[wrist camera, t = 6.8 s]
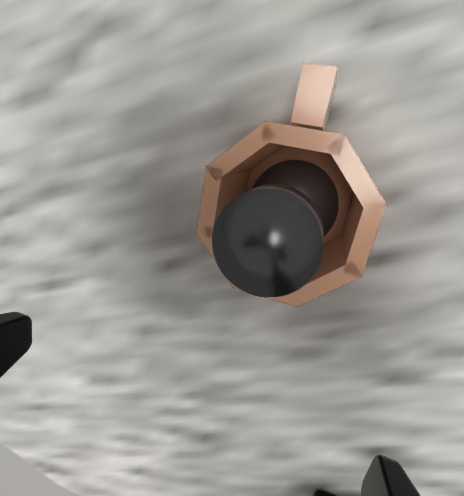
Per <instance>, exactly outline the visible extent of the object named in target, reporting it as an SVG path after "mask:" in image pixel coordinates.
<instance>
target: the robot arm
mask: <svg viewBox="0 0 464 496" xmlns="http://www.w3.org/2000/svg"><path fill="white" fill-rule="evenodd" d="M31 344H32V321H31V318H30V317H29V316H27V315H24V314H22V313H19V312H10V313H4V314H0V378H1V377H2V376H3V375H4V374H5V373H6V372H7V371H8V370H9V369H10V368H11V367H12V366H13V365H14V364H15V363H16V362H17V361H18V360H19V359H20V358H21V357H22V356H23V355H24V354H25V353H26V352H27V351H28V349H29V348H30V346H31ZM314 496H330V495H328V494H325V493H323V492H317V493H315V495H314ZM361 496H420V494H419V493H418V491H417V490H416V488H415V487H414V485H413V484H412V482H411V480H410V479H409V477H408V476H407V474H406V473H405V471H404V470H403V468H402V467H401V465H400V464H399V463H398V462H397V461H395V460H393V459H390V458H388V457H385V456H383V455H376V456H375V457H374V459H373V461H372V463H371V465H370V467H369V469H368V471H367V473H366V475H365V478H364V480H363V483H362V489H361Z"/></svg>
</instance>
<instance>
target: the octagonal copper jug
mask: <svg viewBox="0 0 464 496" xmlns="http://www.w3.org/2000/svg"><path fill="white" fill-rule="evenodd" d="M337 68H338V67H337V66H329V65H322V64H314V63H306V62H303V66H302V71H301V75H300V80H299V84H298V89H297V93H296V98H295V103H294V107H293V112H292V116H291V121H290V122H291V123H292V124H294V125H295V126H291V125H285V124H279V123H273V122H267V121H265V122H263V123H262V124H261V125H260V126H258V127H257V128H256V129H254V130H253V131H252V132H250V133H249V134H248V135H246V136H245V137H244V138H243V139H241V140H240V141H239V142H237V143H236V144H235V145H233V146H232V147H231V148H229V149H228V150H227V151H226V152H224V153H223V154H222V155H220V156H219V157H218V158H216V159H215V160H214V161H213V162H211V163H210V164H209V165H207V166H206V171H205V178H204V185H203V192H202V199H201V206H200V213H199V220H198V227H197V235H198V236H199V238H200V239H201V241H202V242H203V244H204V245H205V247H206V248H207V250H208V251H209V253H210V254H211V256H212V257H213V259H214V260H215V257H214V254H213V249H212V232H213V228H214V224H215V222H216V219H217V217H218V215H219V214H220V212H221V211H222V209H223V208H224V207H225V206H226V205H227V204H228V203H229V202H230V201H231V200H233V199H234V198H236V197H237V196H239V195H241V194H243V193H245V192H247V191H249V190H251V189H252V188H253V186H254V184H255V182H256V180H257V179H258V178H259V176H260V175H261V174H262V173H263V172H264V171H266V170H267V169H268V168H270V167H271V166H273V165H275V164H277V163H280V162H283V161H289V160H302V161H307V162H310V163H313V164H315V165H317V166H318V167H320V168H321V169H323V170H324V171H325V172H326V173H327V174H328V175H329V176H330V178H331V179H332V181H333V182H334V184H335V187H336V189H337V193H338V198H339V209H338V214H337V218H336V221H335V223H334V225H333V227H332V228H331V229H330V231H329V232H328V233H327V234H326V235H325V236H324V238H323V252H322V258H321V262H320V264H319V267H318V269H317V271H316V273H315V274H314V276H313V277H312V278H311V280H310V281H309V282H308V283H307V284H306V285H304V286H303V287H302V288H300V289H299V290H297V291H295V292H293V293H291V294H288V295H285V296H281V297H265V298H269V299H272V300H275V301H279V302H282V303H286V304H289V305H292V306H296V307H298V306H300V305H302V304H304V303H307V302H309V301H311V300H313V299H315V298H317V297H319V296H322V295H324V294H326V293H328V292H330V291H332V290H334V289H337V288H339V287H341V286H343V285H345V284H347V283H349V282H351V281H354V280H356V279H358V278H360V277H362V275H363V272H364V269H365V266H366V263H367V260H368V257H369V254H370V251H371V248H372V246H373V243H374V240H375V237H376V234H377V231H378V228H379V225H380V222H381V219H382V216H383V213H384V211H385V208H386V205H387V203H385V201H384V199H383V198H382V196H381V194H380V193H379V191H378V189H377V188H376V186H375V184H374V183H373V181H372V179H371V178H370V176H369V174H368V173H367V171H366V169H365V168H364V166H363V164H362V163H361V161H360V159H359V158H358V156H357V154H356V153H355V151H354V149H353V148H352V146H351V144H350V143H349V141H348V139H347V138H346V136H345V134H338V133H332V132H326V131H325V128H326V124H327V120H328V116H329V112H330V108H331V104H332V100H333V96H334V92H335V88H336V79H337ZM215 262H216V260H215ZM216 263H217V262H216ZM227 280H228V279H227ZM228 281H229V280H228ZM229 283H230V284H231V286H232V288H235V289H238V290H241V289H239V288H238V287H236V286H235V285H234V284H232V283H231V282H230V281H229ZM241 291H243V290H241Z"/></svg>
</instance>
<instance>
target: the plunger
mask: <svg viewBox="0 0 464 496" xmlns="http://www.w3.org/2000/svg"><path fill="white" fill-rule="evenodd" d="M338 209H339V198H338V193H337V189H336V187H335V184H334V182H333V181H332V179H331V178H330V176H329V175H328V174H327V173H326V172H325V171H324V170H323V169H321V168H320V167H318V166H317V165H315V164H313V163H310V162H307V161H302V160H289V161H283V162H280V163H277V164H275V165H273V166H271V167H270V168H268V169H267V170H266V171H264V172H263V173H262V174H261V175H260V176H259V178H258V179H257V180H256V182H255V184H254V186H253V188H252V189H251V190H249V191H247V192H245V193H243V194H241V195H239V196H237V197H236V198H234V199H233V200H231V201H230V202H229V203H228V204H227V205H226V206H225V207H224V208H223V209H222V211H221V212H220V214H219V215H218V217H217V219H216V222H215V224H214V228H213V232H212V249H213V254H214V257H215V260H216V262H217V265H218V267H219V268H220V270H221V272H222V273H223V274H224V276H225V277H226V278H227V279H228V280H229V281H230V282H231V283H232V284H234V285H235V286H236V287H238V288H239V289H241V290H243V291H245V292H247V293H249V294H252V295H255V296H260V297H281V296H285V295H288V294H291V293H293V292H295V291H297V290H299V289H300V288H302V287H303V286H304V285H306V284H307V283H308V282H309V281H310V280H311V278H312V277H313V276H314V274H315V273H316V271H317V269H318V267H319V264H320V262H321V258H322V252H323V238H324V236H325V235H326V234H327V233H328V232H329V231H330V229H331V228H332V227H333V225H334V223H335V221H336V218H337V214H338Z"/></svg>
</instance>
